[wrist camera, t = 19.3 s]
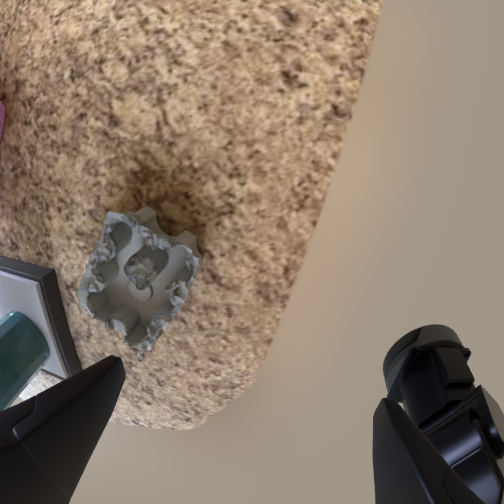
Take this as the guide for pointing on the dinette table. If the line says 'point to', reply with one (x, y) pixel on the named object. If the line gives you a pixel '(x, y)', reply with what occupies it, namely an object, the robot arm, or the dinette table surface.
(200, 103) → the dinette table surface
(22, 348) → the tumbler
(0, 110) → the teakettle
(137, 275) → the egg carton
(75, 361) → the scale
